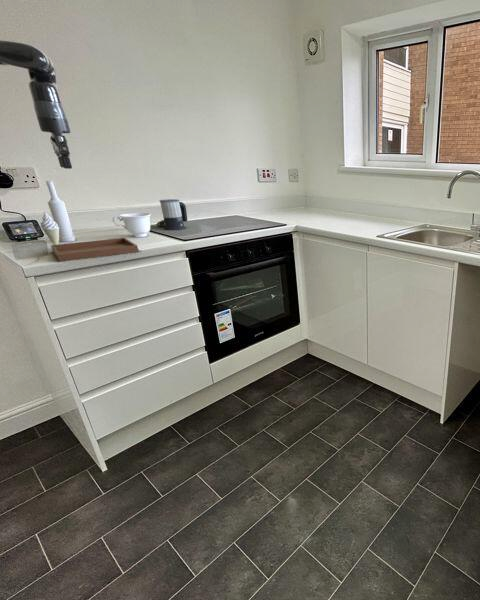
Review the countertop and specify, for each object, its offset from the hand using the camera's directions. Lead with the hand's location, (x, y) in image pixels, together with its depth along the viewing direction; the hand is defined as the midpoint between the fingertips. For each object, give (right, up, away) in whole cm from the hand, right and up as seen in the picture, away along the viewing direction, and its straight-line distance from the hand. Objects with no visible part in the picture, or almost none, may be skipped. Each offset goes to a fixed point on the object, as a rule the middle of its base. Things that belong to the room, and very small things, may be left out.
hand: (66, 168), depth 124 cm
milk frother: (-6, -8, +66) cm, 67 cm away
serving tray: (-2, -28, +14) cm, 31 cm away
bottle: (-28, -21, +30) cm, 46 cm away
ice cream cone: (-19, -27, +17) cm, 37 cm away
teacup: (-7, -17, +43) cm, 47 cm away
